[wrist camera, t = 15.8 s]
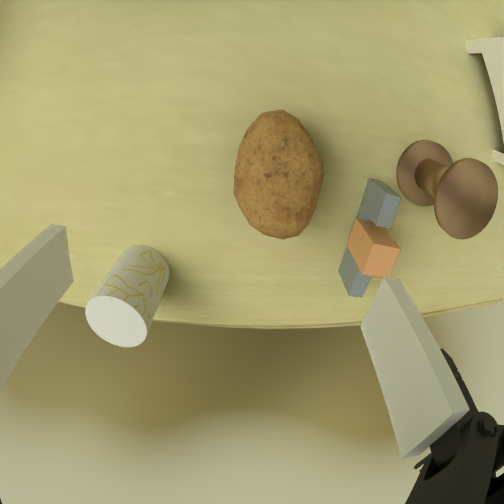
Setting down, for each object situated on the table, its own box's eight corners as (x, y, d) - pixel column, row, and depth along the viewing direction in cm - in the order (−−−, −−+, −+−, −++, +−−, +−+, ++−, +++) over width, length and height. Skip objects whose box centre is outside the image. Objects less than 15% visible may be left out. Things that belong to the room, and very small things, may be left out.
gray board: (368, 178, 36) (386, 193, 31) (382, 181, 36) (401, 197, 31) (338, 270, 43) (348, 295, 38) (351, 272, 43) (362, 297, 38)
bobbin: (406, 131, 33) (454, 148, 23) (456, 152, 33) (506, 175, 24) (388, 195, 37) (426, 230, 27) (438, 209, 38) (480, 245, 28)
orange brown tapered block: (356, 218, 37) (373, 243, 31) (380, 223, 37) (400, 249, 31) (346, 245, 39) (361, 274, 33) (370, 249, 39) (387, 278, 33)
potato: (315, 108, 32) (331, 111, 25) (314, 217, 39) (326, 246, 32) (231, 110, 33) (224, 113, 26) (239, 220, 39) (235, 250, 32)
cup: (180, 269, 43) (159, 326, 33) (151, 300, 46) (127, 355, 36) (136, 234, 40) (101, 283, 30) (110, 268, 43) (76, 319, 33)
